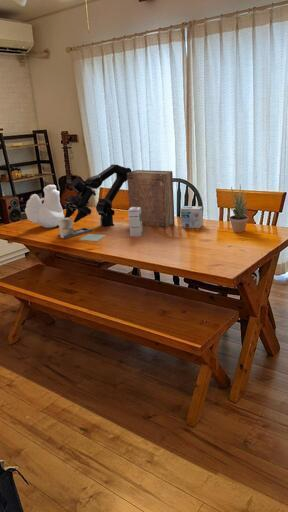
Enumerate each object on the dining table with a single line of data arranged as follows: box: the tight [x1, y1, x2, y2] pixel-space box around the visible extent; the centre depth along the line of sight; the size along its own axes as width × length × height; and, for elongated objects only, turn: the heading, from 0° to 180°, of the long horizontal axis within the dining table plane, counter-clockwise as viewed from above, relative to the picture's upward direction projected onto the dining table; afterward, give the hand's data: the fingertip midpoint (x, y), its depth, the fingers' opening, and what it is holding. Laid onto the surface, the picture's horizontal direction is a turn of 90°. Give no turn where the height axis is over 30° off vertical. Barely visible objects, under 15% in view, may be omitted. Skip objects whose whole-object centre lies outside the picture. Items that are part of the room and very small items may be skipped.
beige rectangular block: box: [58, 216, 75, 239], centre depth 220 cm, size 7×3×10 cm, turn 133°
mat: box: [78, 233, 107, 242], centre depth 216 cm, size 11×11×1 cm
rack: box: [57, 227, 93, 240], centre depth 225 cm, size 18×7×2 cm, turn 133°
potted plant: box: [228, 185, 250, 233], centre depth 207 cm, size 10×10×25 cm
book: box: [126, 169, 176, 229], centre depth 232 cm, size 25×9×30 cm, turn 51°
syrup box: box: [127, 207, 144, 237], centre depth 214 cm, size 6×6×14 cm
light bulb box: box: [180, 205, 204, 229], centre depth 224 cm, size 11×7×11 cm, turn 68°
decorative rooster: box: [24, 184, 65, 229], centre depth 242 cm, size 25×16×25 cm, turn 129°
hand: (69, 221), depth 221 cm, fingers open, 9 cm apart
